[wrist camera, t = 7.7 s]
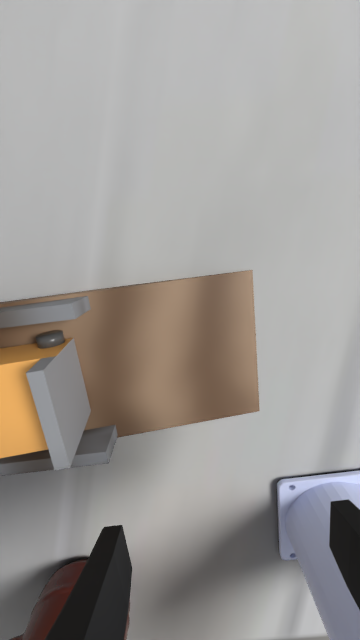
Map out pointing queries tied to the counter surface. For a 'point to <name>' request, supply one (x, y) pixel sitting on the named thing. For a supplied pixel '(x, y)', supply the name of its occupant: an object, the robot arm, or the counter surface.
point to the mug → (55, 601)
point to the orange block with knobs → (42, 399)
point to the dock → (147, 356)
